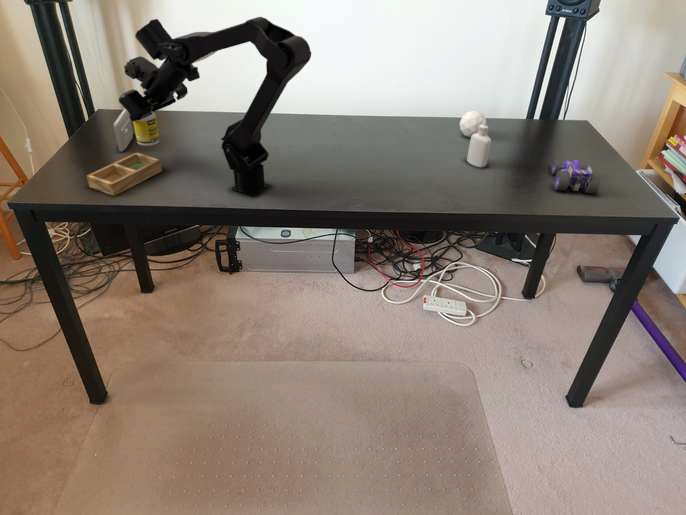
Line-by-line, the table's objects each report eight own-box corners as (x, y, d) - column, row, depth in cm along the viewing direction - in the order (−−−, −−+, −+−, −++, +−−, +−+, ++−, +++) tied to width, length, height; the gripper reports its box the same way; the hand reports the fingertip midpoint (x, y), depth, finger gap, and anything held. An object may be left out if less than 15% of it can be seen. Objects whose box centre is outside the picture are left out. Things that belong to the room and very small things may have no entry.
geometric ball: (462, 144, 160) (450, 120, 159) (483, 132, 162) (472, 108, 160) (473, 141, 153) (461, 116, 152) (495, 128, 154) (484, 103, 153)
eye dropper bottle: (480, 159, 146) (489, 117, 139) (487, 168, 141) (496, 125, 134) (465, 159, 145) (473, 117, 138) (471, 168, 141) (480, 125, 134)
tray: (162, 170, 132) (160, 159, 130) (114, 196, 121) (111, 184, 119) (138, 163, 135) (136, 152, 133) (89, 187, 124) (86, 175, 122)
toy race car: (581, 170, 142) (589, 148, 138) (595, 197, 130) (604, 173, 126) (545, 167, 143) (552, 144, 139) (556, 193, 131) (563, 169, 127)
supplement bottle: (153, 147, 130) (146, 108, 124) (133, 145, 131) (125, 106, 125) (164, 139, 134) (157, 101, 128) (144, 136, 135) (136, 99, 129)
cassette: (124, 152, 140) (118, 124, 136) (117, 152, 140) (111, 124, 135) (135, 134, 150) (129, 108, 145) (128, 134, 150) (122, 107, 145)
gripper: (169, 38, 125) (140, 78, 134) (116, 57, 111) (87, 101, 120) (202, 76, 127) (171, 113, 137) (154, 99, 113) (123, 139, 122)
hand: (139, 115), depth 129 cm, fingers closed on supplement bottle, 5 cm apart
